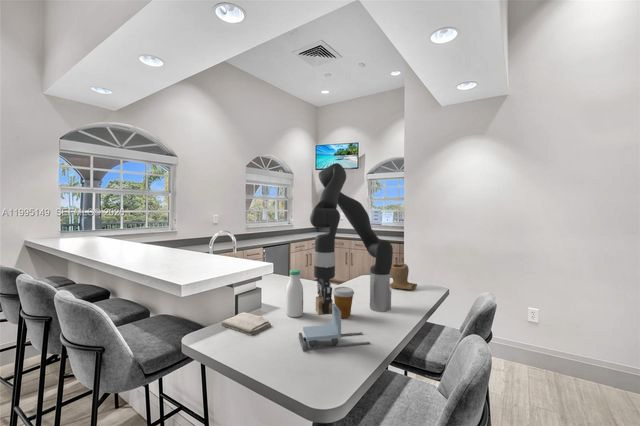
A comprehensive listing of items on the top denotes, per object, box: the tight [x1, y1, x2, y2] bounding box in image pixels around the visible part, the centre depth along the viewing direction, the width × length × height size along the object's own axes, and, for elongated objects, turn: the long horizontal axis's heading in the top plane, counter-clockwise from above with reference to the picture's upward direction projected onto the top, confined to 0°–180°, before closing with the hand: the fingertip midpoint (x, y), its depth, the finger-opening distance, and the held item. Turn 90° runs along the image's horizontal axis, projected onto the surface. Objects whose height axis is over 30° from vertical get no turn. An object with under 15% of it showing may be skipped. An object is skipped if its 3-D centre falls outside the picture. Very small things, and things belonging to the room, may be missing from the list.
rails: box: [298, 331, 371, 352], centre depth 109 cm, size 24×10×2 cm, turn 102°
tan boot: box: [390, 262, 418, 291], centre depth 177 cm, size 15×12×15 cm
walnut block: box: [315, 295, 334, 316], centre depth 108 cm, size 5×5×5 cm
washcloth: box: [221, 312, 272, 336], centre depth 122 cm, size 12×18×3 cm, turn 59°
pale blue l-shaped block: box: [302, 302, 342, 347], centre depth 108 cm, size 12×9×12 cm
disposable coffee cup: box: [332, 286, 355, 320], centre depth 133 cm, size 10×10×12 cm
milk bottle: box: [285, 269, 304, 318], centre depth 134 cm, size 8×8×20 cm
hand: (323, 310), depth 108 cm, fingers closed on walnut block, 5 cm apart
